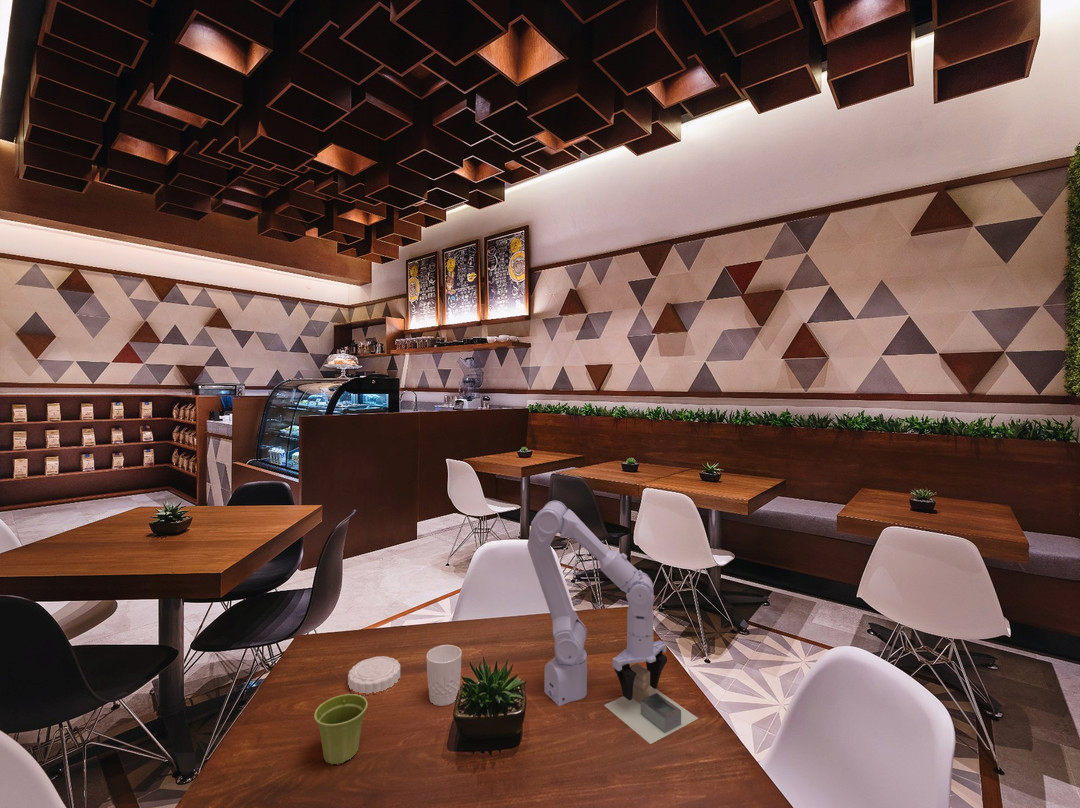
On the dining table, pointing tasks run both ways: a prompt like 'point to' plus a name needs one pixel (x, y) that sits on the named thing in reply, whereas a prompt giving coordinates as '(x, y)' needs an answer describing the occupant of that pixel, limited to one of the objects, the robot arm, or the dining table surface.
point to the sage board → (632, 717)
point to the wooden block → (641, 683)
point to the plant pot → (340, 726)
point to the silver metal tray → (661, 712)
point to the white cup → (443, 674)
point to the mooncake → (374, 674)
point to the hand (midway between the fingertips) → (640, 691)
